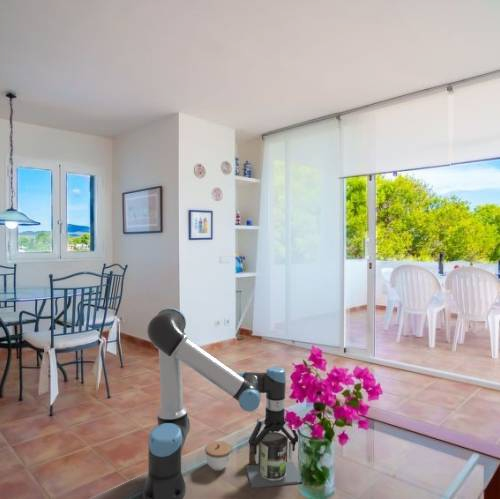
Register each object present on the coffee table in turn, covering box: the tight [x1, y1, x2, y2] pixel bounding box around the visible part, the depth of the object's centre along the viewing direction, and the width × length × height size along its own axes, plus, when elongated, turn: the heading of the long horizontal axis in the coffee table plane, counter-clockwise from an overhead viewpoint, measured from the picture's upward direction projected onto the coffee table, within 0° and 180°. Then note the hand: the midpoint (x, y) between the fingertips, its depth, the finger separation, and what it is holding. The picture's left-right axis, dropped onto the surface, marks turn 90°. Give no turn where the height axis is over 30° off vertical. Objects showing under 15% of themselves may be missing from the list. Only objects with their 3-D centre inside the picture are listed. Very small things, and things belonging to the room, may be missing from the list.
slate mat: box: [245, 460, 299, 489], centre depth 158 cm, size 20×13×1 cm, turn 101°
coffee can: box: [260, 431, 287, 481], centre depth 157 cm, size 10×10×14 cm
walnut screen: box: [248, 435, 289, 465], centre depth 166 cm, size 16×2×10 cm, turn 101°
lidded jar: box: [204, 440, 233, 472], centre depth 163 cm, size 11×11×9 cm
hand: (273, 460), depth 158 cm, fingers open, 13 cm apart
